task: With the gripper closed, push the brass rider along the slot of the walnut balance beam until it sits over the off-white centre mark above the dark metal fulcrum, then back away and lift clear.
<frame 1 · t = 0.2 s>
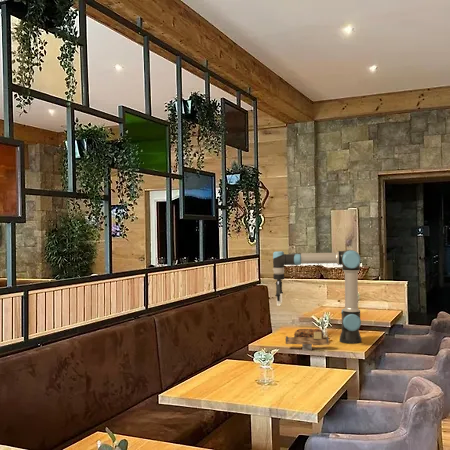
hand: (279, 304, 382), 28 cm above the table, fingers open, 13 cm apart
beam: (307, 349, 366), on the table
rider: (317, 336, 365), point 8 cm above the table, slide at -7.0 cm
bread: (308, 343, 385), on the table
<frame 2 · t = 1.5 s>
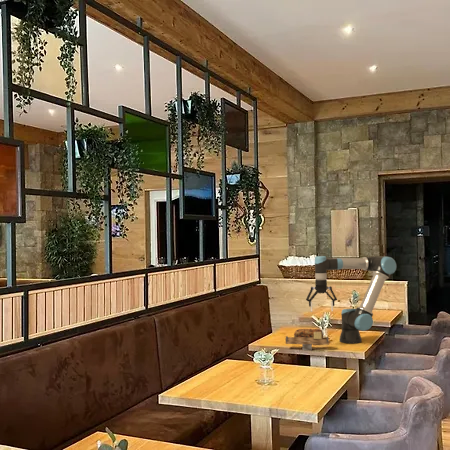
hand: (321, 311, 366), 25 cm above the table, fingers open, 13 cm apart
nothing on the table moved.
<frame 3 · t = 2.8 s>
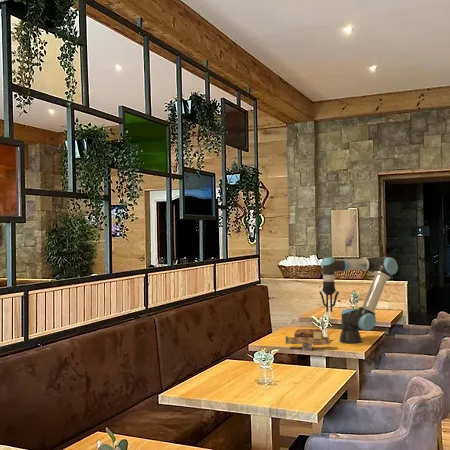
hand: (329, 316, 363), 22 cm above the table, fingers closed
nothing on the table moved.
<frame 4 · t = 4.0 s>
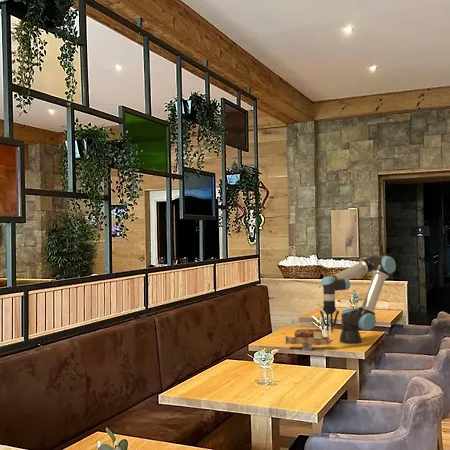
hand: (329, 335, 363), 9 cm above the table, fingers closed
nothing on the table moved.
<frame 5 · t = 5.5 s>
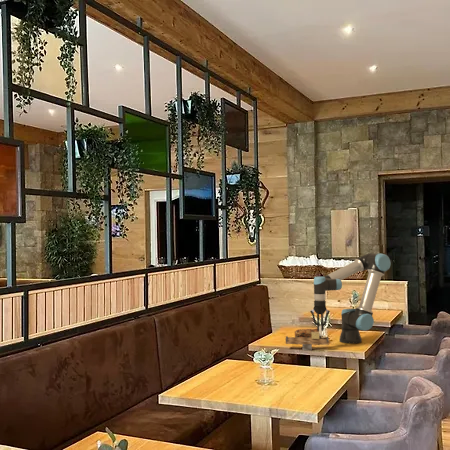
hand: (320, 335, 364), 9 cm above the table, fingers closed
rider: (315, 336, 365), point 8 cm above the table, slide at -5.5 cm, touching gripper
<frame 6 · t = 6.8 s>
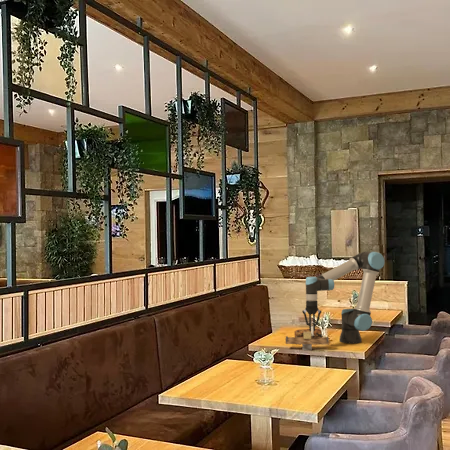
hand: (312, 335, 365), 9 cm above the table, fingers closed
rider: (307, 336, 366), point 8 cm above the table, slide at -0.3 cm, touching gripper
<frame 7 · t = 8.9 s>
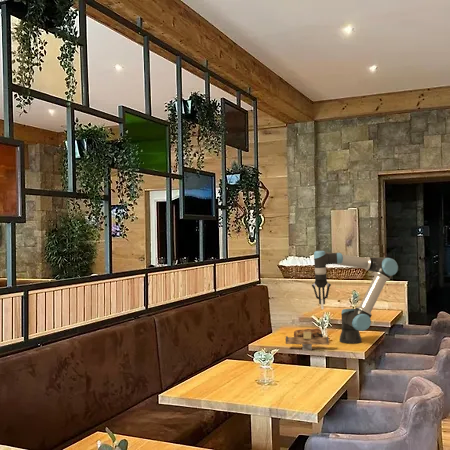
hand: (322, 308, 369), 26 cm above the table, fingers closed
rider: (307, 336, 366), point 8 cm above the table, slide at -0.3 cm
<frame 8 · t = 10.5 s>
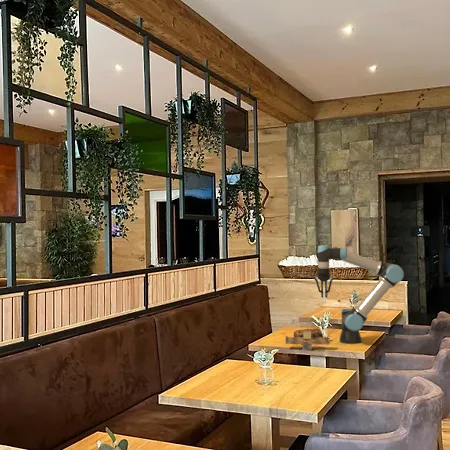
hand: (324, 302, 376), 29 cm above the table, fingers closed
at the end: rider slide at -0.3 cm; the gripper is holding nothing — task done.
